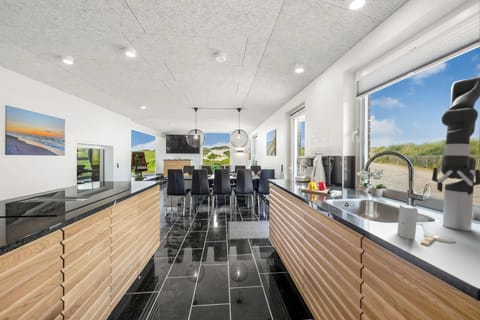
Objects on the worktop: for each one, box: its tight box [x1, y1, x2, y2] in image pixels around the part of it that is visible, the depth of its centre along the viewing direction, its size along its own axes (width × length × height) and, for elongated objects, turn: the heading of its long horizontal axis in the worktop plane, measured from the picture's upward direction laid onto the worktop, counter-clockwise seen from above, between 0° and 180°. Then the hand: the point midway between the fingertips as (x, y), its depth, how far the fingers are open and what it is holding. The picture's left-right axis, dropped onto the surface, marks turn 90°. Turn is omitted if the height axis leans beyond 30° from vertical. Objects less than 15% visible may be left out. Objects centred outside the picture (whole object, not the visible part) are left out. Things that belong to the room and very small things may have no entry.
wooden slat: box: [420, 237, 436, 247], centre depth 78 cm, size 10×2×1 cm, turn 127°
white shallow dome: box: [423, 231, 456, 244], centre depth 82 cm, size 9×9×1 cm
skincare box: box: [397, 204, 418, 240], centre depth 83 cm, size 6×4×12 cm
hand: (454, 193), depth 88 cm, fingers open, 8 cm apart
